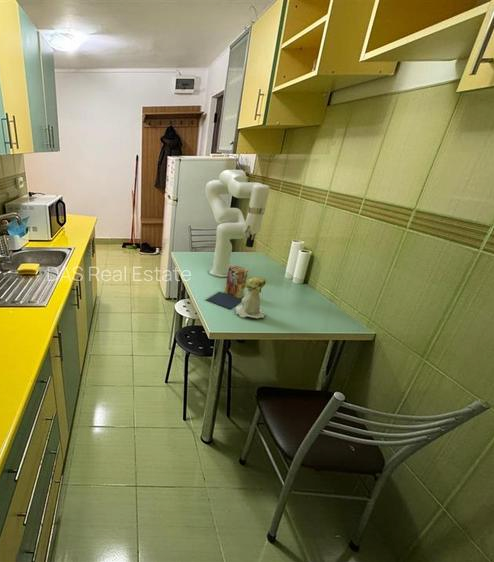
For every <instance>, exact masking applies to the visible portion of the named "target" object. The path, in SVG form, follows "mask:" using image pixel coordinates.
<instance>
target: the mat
mask: <svg viewBox="0 0 494 562" xmlns="http://www.w3.org/2000/svg"><path fill="white" fill-rule="evenodd" d="M242 299H243V298H242ZM242 299H241V298H237V297H234V296H232V295H229V294H227V293H224V292H222V291H218V292H217V293H215V294H213V295H212V296H209V297H208V298H206V301H207V302H209V303H211V304H214V305H217V306H220V307H222V308H224V309H228V310H232V309H233V308H235V307H236V306H238V305H240V304H241V301H242Z"/></svg>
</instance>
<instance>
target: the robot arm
mask: <svg viewBox="0 0 494 562" xmlns="http://www.w3.org/2000/svg"><path fill="white" fill-rule="evenodd" d="M246 180H247V174H246V171H244V170H242V169H225V170H223V171H222V172H221V173H220V174H219V177H218V179H213V180H210V181H208V182H207V183H206V185H205V188H204V189H205V198H206V200H207V202H208V203H209V205H210V208H211V211H212V214H213V218H214V221H215V222H216V224H218V225H217V227H216V231H215V235H216V236H215V237H216V238H215V248H214V255H213V259H212V260H213V261H212V267H211V268H210V269H209V270H208V273H209V274H210V275H212V276H214V277H219V278H227V276H228V270H229V266H231V265H230V262H231V259H232V253H233V252H232V251H233V244H232V242H231V240H242V239H244V238H246V242H245V247H246V248H254V244H255V239H256V237H257V236H256V235H258V233H260V231H261V228H262V222H263V217H264V215H265V212H266V207H267V203H268V198H269V194H270V186H269V185H268V184H263V183H261V182H249V181H248V182H247V181H246ZM220 195H231V196H232V197H234V198H237V199H249V204H248V210H247V216H246V218H245V216H244V214H243V212H242V210H241V209H240V208H237V207H228V206H227V204H226V201H225V199H224V198H223V197H221V196H220Z"/></svg>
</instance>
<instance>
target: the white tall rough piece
mask: <svg viewBox="0 0 494 562" xmlns="http://www.w3.org/2000/svg"><path fill="white" fill-rule="evenodd" d="M266 284H267V281H266V279H265V278H264V277H263V278H262V277H260V276H259V277H258V276H254V277H250V278H248V279H247V280H246V283H245V289H247V292H246V293H245V295H244V296H243V297H242V301H241V302H240V304H241V305H240V304H238V305H236V306H235V314H236V315H238V316H239V317H240V318H246V317H250V318H255V319H259V318H262V319H264V318H265V315H266V313H265V312H264V311H263V309H261V296H260V294H262V288H264V286H265V285H266Z"/></svg>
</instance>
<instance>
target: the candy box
mask: <svg viewBox="0 0 494 562" xmlns="http://www.w3.org/2000/svg"><path fill="white" fill-rule="evenodd" d="M248 274H249V269H248V268H244V267H241V266H238V265H234V264H231V265H230V266H229V269H228V276H227V277H226V282H225V288H224V292H223V293H225V294H228V295H231V296H233V297H236V298H239V299H241V298H244V293H245V289H246V287H245V283H246V282H247V280H248Z"/></svg>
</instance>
